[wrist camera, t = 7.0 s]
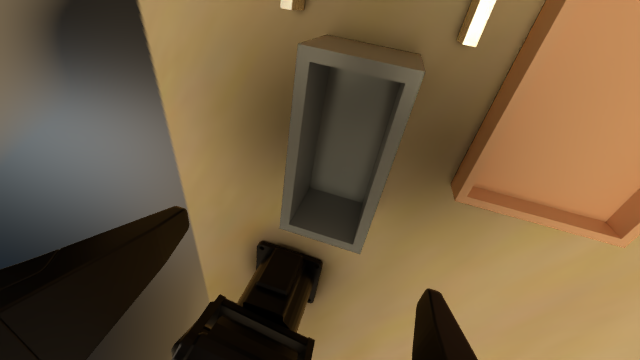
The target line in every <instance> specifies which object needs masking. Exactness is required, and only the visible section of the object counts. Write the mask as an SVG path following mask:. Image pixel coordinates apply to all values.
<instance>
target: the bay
mask: <svg viewBox="0 0 640 360" xmlns="http://www.w3.org/2000/svg"><path fill="white" fill-rule="evenodd" d="M495 2H496V0H472V1H471V4H470V7H469V9H468V12H467V14H466V17H465V19H464V22H463V24H462V27H461V30H460V32H459V35H458V37H457V41H458V42H460V43H461V44H463V45H468V46H473V47H476V46H477V43H478V41H479V39H480V36H481V34H482V32H483V29H484V27H485V25H486V23H487V20H488V18H489V16H490V13H491V11H492V9H493V6H494V4H495ZM304 5H305V0H281V6H280V8H283V9H288V10H304Z"/></svg>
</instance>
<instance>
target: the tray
mask: <svg viewBox="0 0 640 360" xmlns="http://www.w3.org/2000/svg"><path fill="white" fill-rule="evenodd" d="M451 187H452V191H453V195H454V199H455V201H457V202H461V203H465V204H468V205H472V206H475V207H479V208H483V209H486V210H490V211H493V212H497V213H501V214H504V215H508V216H511V217H515V218H519V219H522V220H526V221H529V222H533V223H536V224H540V225H544V226H547V227H551V228H554V229H558V230H562V231H565V232H569V233H572V234H576V235H580V236H583V237H587V238H590V239H594V240H598V241H601V242H605V243H608V244H612V245H616V246H619V247H623V248H625V247H626V246H627V245H628V244H630V243H631V242H632V241H633V240H634V239H635V238H636V237H638V236H639V235H640V0H546V2H545V4H544V6H543V8H542V9H541V11H540V13H539V15H538V17H537V19H536V21H535V23H534V25H533V27H532V29H531V31H530V32H529V34H528V36H527V38H526V40H525V42H524V44H523V46H522V48H521V50H520V52H519V54H518V56H517V57H516V59H515V61H514V63H513V65H512V67H511V69H510V71H509V73H508V75H507V77H506V79H505V81H504V82H503V84H502V86H501V88H500V90H499V92H498V94H497V96H496V98H495V100H494V102H493V104H492V105H491V107H490V109H489V111H488V113H487V115H486V117H485V119H484V121H483V123H482V125H481V127H480V129H479V130H478V132H477V134H476V136H475V138H474V140H473V142H472V144H471V146H470V148H469V150H468V152H467V154H466V155H465V157H464V159H463V161H462V163H461V165H460V167H459V169H458V171H457V173H456V175H455V177H454V178H453V180H452V182H451Z"/></svg>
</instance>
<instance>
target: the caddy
mask: <svg viewBox="0 0 640 360" xmlns="http://www.w3.org/2000/svg"><path fill="white" fill-rule="evenodd" d="M424 74H425V69H424V65H423V61H422V57H421V55H420V54H416V53H411V52H406V51H402V50H397V49H392V48H387V47H383V46H378V45H373V44H368V43H364V42H359V41H354V40H350V39H345V38H340V37H335V36H331V35H324V36H321V37H318V38H315V39H312V40H308V41H305V42H302V43H299V44H298V49H297V59H296V69H295V79H294V89H293V99H292V109H291V119H290V129H289V139H288V149H287V159H286V169H285V179H284V189H283V198H282V208H281V218H280V229H283V230H286V231H289V232H292V233H295V234H299V235H302V236H305V237H308V238H311V239H314V240H317V241H320V242H323V243H327V244H330V245H333V246H336V247H339V248H342V249H345V250H348V251H352V252H355V253H358V254H360V253H361V250H362V247H363V245H364V242H365V239H366V236H367V234H368V231H369V228H370V225H371V222H372V220H373V217H374V214H375V211H376V208H377V206H378V203H379V200H380V197H381V194H382V192H383V189H384V186H385V183H386V180H387V178H388V175H389V172H390V169H391V166H392V164H393V161H394V158H395V155H396V152H397V150H398V147H399V144H400V141H401V138H402V136H403V133H404V130H405V127H406V124H407V122H408V119H409V116H410V113H411V110H412V108H413V105H414V102H415V99H416V96H417V94H418V91H419V88H420V85H421V82H422V80H423V77H424Z"/></svg>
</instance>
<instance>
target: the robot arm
mask: <svg viewBox="0 0 640 360" xmlns="http://www.w3.org/2000/svg"><path fill="white" fill-rule="evenodd" d="M188 228H189V219H188V213H187V210H186V209H185V208H181V207H178V206H174V207H171V208H168V209H165V210H163V211H160V212H157V213H155V214H152V215H149V216H147V217H144V218H141V219H139V220H136V221H133V222H131V223H128V224H125V225H122V226H120V227H117V228H114V229H112V230H109V231H106V232H104V233H101V234H98V235H95V236H93V237H90V238H88V239H85V240H82V241H79V242H77V243H74V244H71V245H68V246H66V247H63V248H61V249H60V250H55V251H52V252H49V253H47V254H44V255H41V256H39V257H36V258H33V259H30V260H27V261H24V262H22V263H19V264H15V265H12V266H9V267H6V268H3V269H0V360H86V359H87V358H88V357H89V355H90V354H91V353H92V352H93V351H94V349H95V348H96V347H97V346H98V345H99V343H100V342H101V341H102V340H103V339H104V337H105V336H106V335H107V334H108V332H109V331H110V330H111V329H112V328H113V326H114V325H115V324H116V323H117V322H118V320H119V319H120V318H121V317H122V316H123V314H124V313H125V312H126V311H127V310H128V308H129V307H130V306H131V305H132V303H133V302H134V301H135V300H136V298H137V297H138V296H139V295H140V294H141V292H142V291H143V290H144V289H145V288H146V286H147V285H148V284H149V283H150V282H151V280H152V279H153V278H154V277H155V275H156V274H157V273H158V272H159V271H160V269H161V268H162V267H163V266H164V264H165V263H166V262H167V260H168V259H169V257H170V256H171V254H172V253H173V251H174V250H175V248H176V247H177V245H178V244H179V242H180V241H181V239H182V238H183V236H184V235H185V233H186V232H187V230H188ZM322 265H323V264H322V262H321V261H320V260H318V259H315V258H311V257H308V256H305V255H302V254H299V253H296V252H293V251H290V250H287V249H284V248H281V247H278V246H275V245H272V244H269V243H266V242H260V243H259V244H258V246H257V265H256V272H255V273H254V275H253V277H252V279H251V280H250V282H249V284H248V285H247V287H246V289H245V291H244V292H243V294H242V296H241V297H240V299H239V301H238V303H237V304H236V303H234V302H232V301H230V300H228V299H226V297H225V296H223V295H221V294H220V295H219V296H218V298H217V299H216V300H215V301H214V302H213V301H212V302H210V303H209V305H208V306H207V308H206V309H205V311H204V312H203V313H202V315H201V316H200V318H199V319H198V320H197V321H196V322H195V323H194V325H193V326H192V327H191V328H190V329H189V330H188V331H187V332H186V333H185V334H184V335H183V336H182V337H181V338H180V339H179V340H178V341H177V342H176V343H175V344H174V346H173V348H172V350H171V352H172V360H311V358H312V353H313V348H314V342H315V340H314V339H312V338H307V337H305V336H303V335H300V334H298V333H297V330H298V327H299V324H300V321H301V318H302V316H303V313H304V310H305V307H306V304H307V302H308V303H313V301H314V298H315V293H316V289H317V285H318V281H319V277H320V273H321V269H322ZM412 360H478V359H477V357H476V356H475V354H474V352H473V350H472V348H471V347H470V345H469V343H468V341H467V339H466V338H465V336H464V334H463V332H462V330H461V329H460V327H459V325H458V323H457V321H456V320H455V318H454V316H453V314H452V312H451V310H450V309H449V307H448V305H447V303H446V301H445V300H444V298H443V296H442V294H441V293H440V292H438V291H436V290H433V289H429V288H428V289H426V290H425V292H424V293H423V295H422V296H421V298H420V300H419V301H418V304H417V308H416V318H415V328H414V339H413V350H412Z"/></svg>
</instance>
